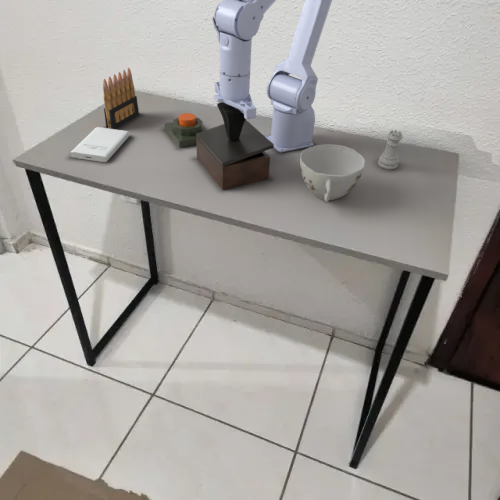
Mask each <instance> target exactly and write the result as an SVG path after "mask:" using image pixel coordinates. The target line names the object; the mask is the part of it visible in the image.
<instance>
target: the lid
mask: <svg viewBox="0 0 500 500" xmlns="http://www.w3.org/2000/svg"><path fill="white" fill-rule="evenodd" d="M265 136H266V135H264V134H263V133H262V132H261V131H259V130H258V128H256V127H255V126H253V124H251V123H250V122H249V121H248V119H246V120H245V122H244V125H243V127H242V131H241V134H240V137H239V139H236V140H229V139H228V137H227V134H226V129H225V125H224V123H223V124H220V125H217V126H214V127H212V128H209V129H206V130H205V131H202V132H199V133H196V137H197V138H198V139H199V140H200V141H201V142H202V143H203V145H204V146H205V147H206V148H207V149H208V150H209V151H210V152H211V154H212V155H213V156H214V157H215V158H216V159H217V160H218V161H219V163H220V164H221V165H222V166H226V165H228V164H231V163H234V162H237V161H239V160H242V159H245V158H247V157H250V156H253V155H256V154H258V153H261V152H266V151H269V150H272V149H275V148H274V144H273V143H272V142H270V141H269V140H268V139H267V138H266V137H265Z"/></svg>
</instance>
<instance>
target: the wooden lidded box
mask: <svg viewBox="0 0 500 500" xmlns="http://www.w3.org/2000/svg"><path fill="white" fill-rule="evenodd" d="M196 142H197V145H196V160H197V161H198V162H199V164H200V165H201V166H202V167H203V168H204V170H205V171H206V172H207V173H208V175H210V177H211V178H212V179H213V180H214V182H215V183H216V184H217V185H218V187H219V188H220V189H221V190H222V191H224V190H228V189H233V188H237V187H241V186H246V185H250V184H254V183H258V182H262V181H266V180H269V176H270V164H271V156H270V155H269V154H268V153H267V152H266V151H264V152H261V153H258V154H256V155H253V156H250V157H247V158H245V159H242V160H239V161H237V162H234V163H231V164H228V165H226V166H222V165H221V164H220V163H219V161H218V160H217V159H216V158H215V157H214V156H213V155H212V154H211V152H210V151H209V150H208V149H207V148H206V147H205V146H204V145H203V143H202V142H201V141H200V140H199V139H198V138H197V137H196Z"/></svg>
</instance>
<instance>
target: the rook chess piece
mask: <svg viewBox="0 0 500 500" xmlns="http://www.w3.org/2000/svg"><path fill="white" fill-rule="evenodd" d="M386 135H387V140H386V145H385V149H384V151H383V152H382V154H381V155H379V157H378V160H377V165H378V166H379V167H380V168H382V169H383V170H389V171H391V170H394V169H397V167H398V166H399V157H398V149H399V146H400V144H401V143H400V141H401V140H402V139H403V133H402V131H400V130H398V129H391V130H389V133H387V134H386Z"/></svg>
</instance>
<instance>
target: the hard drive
mask: <svg viewBox="0 0 500 500" xmlns="http://www.w3.org/2000/svg"><path fill="white" fill-rule="evenodd" d="M129 137H130V131H128V130H122V129H117V128H116V129H108V128H106V127H101V126H96V127H94V129H92V130H91V131H90V133H88V135H86V136H85V137H84V139H82V140H81V142H79V143H78V144H77V145H76V146H75V147H74V148H73V149H72V150H71V151H70V152H69V153H70V157H71V158H72V159H73V158H74V159H78V160H79V159H80V160H84V161H91V162H98V163H99V162H100V163H107V162H108V161H109V160H110V159H111V158H112V157H113V155H114V154H115V153H116V152H117V151H118V150H119V149H120V148H121V146H122V145H123V144H125V142H126V141H127V139H128V138H129Z"/></svg>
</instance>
